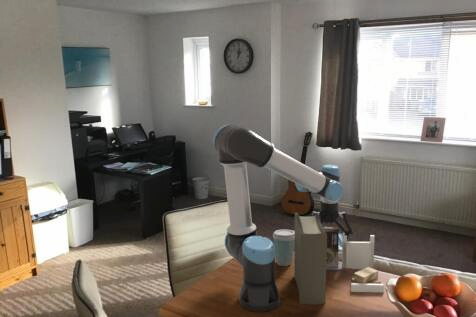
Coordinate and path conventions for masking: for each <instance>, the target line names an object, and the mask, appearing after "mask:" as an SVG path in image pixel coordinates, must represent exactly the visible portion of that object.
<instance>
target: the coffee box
mask: <svg viewBox="0 0 476 317" xmlns="http://www.w3.org/2000/svg"><path fill="white" fill-rule="evenodd" d="M322 227H323V228H324V230H325V232H326V234H327V254H326V266H329V267H338V265H339V263H340V259H339V257H340V256H339V254H340V253H339V252H340V251H339V250H340V249H339V248H340V247H339V242H340V227H339V226H324V225H322Z"/></svg>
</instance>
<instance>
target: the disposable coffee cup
mask: <svg viewBox="0 0 476 317" xmlns="http://www.w3.org/2000/svg"><path fill="white" fill-rule="evenodd" d="M272 238H273V244H274V248H275V262H276V263H277V265H278V266H282V267H288V265H289V266H290V265H292V262H293V257H294V254H295V230H291V229H283V228H282V229H277V230H275V231H274V232H273V233H272Z"/></svg>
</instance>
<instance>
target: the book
mask: <svg viewBox="0 0 476 317" xmlns="http://www.w3.org/2000/svg"><path fill="white" fill-rule="evenodd" d="M322 226H323V223H322V224H321V222H320V216H319V214H318V213H315V216H312V215H311V216H301V215H299V212H294V231H295V247H294V262H293V263H294V265H293V266H294V267H293V268H294V274H293V275H294V276H295V277H294V279H295V282H296V286H297V290H298V298H299V304H303V305H321V304H323V305H324V304H326V294H327V292H326V290H327V288H326V287H327V270H326V254H327V234H326V232H325V230H324V228H323V227H322Z"/></svg>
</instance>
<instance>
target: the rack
mask: <svg viewBox="0 0 476 317" xmlns="http://www.w3.org/2000/svg"><path fill="white" fill-rule="evenodd" d="M374 257H375V234H370V235H369V241H348V242H347V235H343V234H342V252H341V269H342V268H352V269H351V270H362V269H365V268H367V267H370V268H372V269H374V261H375V260H374V259H375V258H374ZM384 289H385V285H384V283H381V284H371V283H351V282H350V291H351V292H352V293H384Z"/></svg>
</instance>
